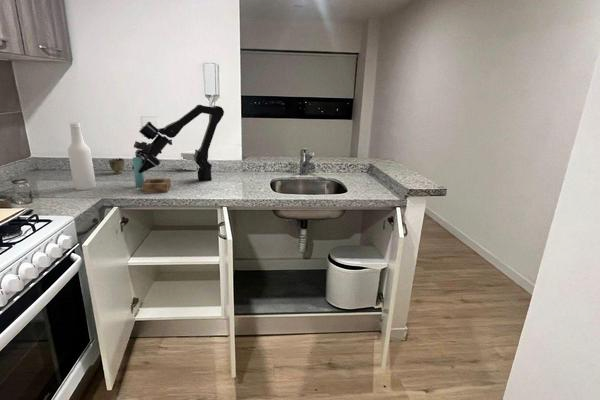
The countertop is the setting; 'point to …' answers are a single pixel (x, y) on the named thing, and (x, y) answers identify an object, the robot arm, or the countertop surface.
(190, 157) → the small box
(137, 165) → the peg
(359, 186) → the countertop surface
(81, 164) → the alcohol
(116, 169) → the cup
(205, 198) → the countertop surface
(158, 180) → the socket
